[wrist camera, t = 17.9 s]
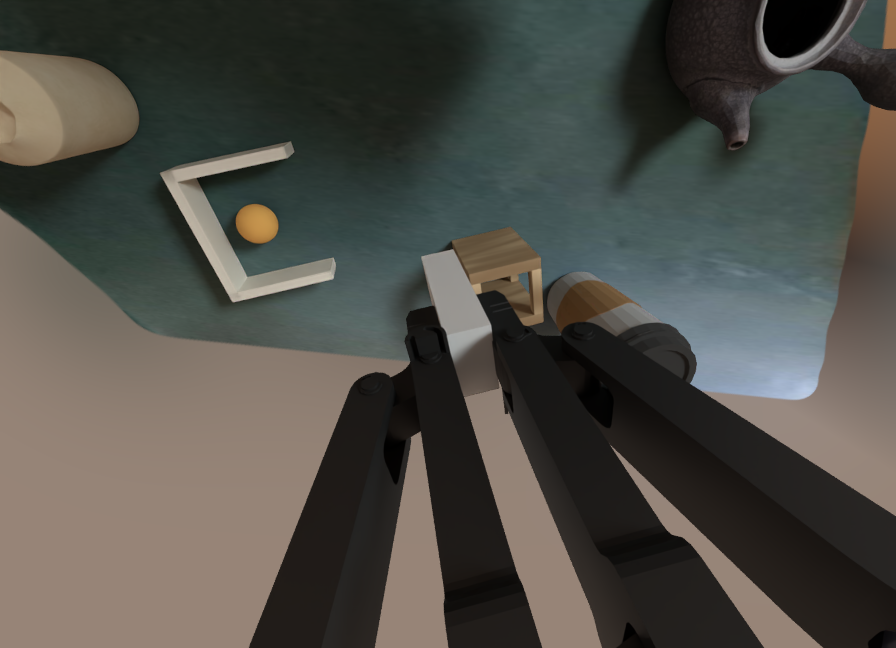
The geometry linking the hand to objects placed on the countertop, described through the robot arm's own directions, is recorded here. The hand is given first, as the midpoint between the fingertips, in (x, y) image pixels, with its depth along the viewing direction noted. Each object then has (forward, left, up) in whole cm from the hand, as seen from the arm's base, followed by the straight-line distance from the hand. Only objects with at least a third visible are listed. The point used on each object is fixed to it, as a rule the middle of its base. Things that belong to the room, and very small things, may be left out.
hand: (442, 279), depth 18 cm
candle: (-10, -21, -20) cm, 30 cm away
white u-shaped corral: (0, -13, -19) cm, 23 cm away
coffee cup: (+15, +15, -20) cm, 29 cm away
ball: (0, -15, -18) cm, 23 cm away
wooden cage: (+9, +6, -19) cm, 22 cm away
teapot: (-5, +31, -20) cm, 37 cm away
